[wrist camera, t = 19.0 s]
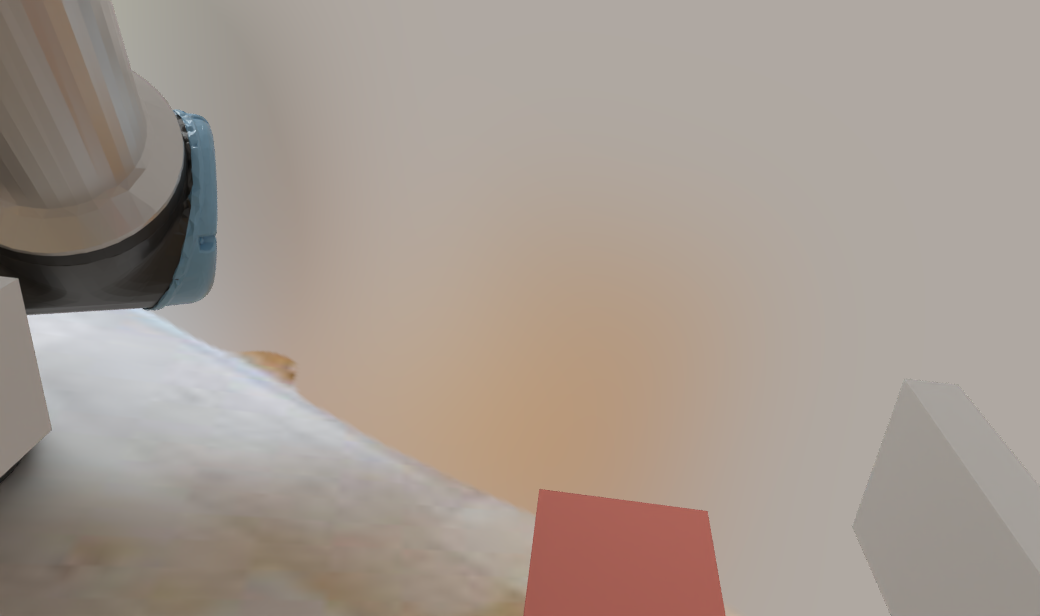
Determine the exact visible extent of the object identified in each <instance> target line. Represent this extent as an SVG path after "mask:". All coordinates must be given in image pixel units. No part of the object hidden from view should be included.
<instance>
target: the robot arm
mask: <svg viewBox="0 0 1040 616" xmlns="http://www.w3.org/2000/svg"><path fill="white" fill-rule="evenodd" d="M216 229H217V181H216V163H215V149H214V141H213V134H212V131H211V129H210V126H209V124H208V122H207V120H206V119H205V118H203V117H202V116H200V115H196V114H189V113H185V112H184V111H181V110H172V108H171V107H170V105H169V103H168V102H167V100H166V99H165V98H164V97H163V96H162V95H161V94H160V92H159V91H158V90H157V89H156V88H155V87H153V86H152V85H151V84H150V83H149V82H148V81H147V80H146V79H144V78H143V77H141V76H140V75H138V74H137V73H136V72H134V71H132V70H131V67H130V63H129V60H128V56H127V53H126V49H125V46H124V43H123V39H122V36H121V32H120V29H119V25H118V22H117V18H116V15H115V11H114V8H113V5H112V1H111V0H0V482H1V481H3V480H4V479H5V478H6V477H7V476H8V475H9V474H10V473H11V472H12V471H13V470H14V468H15V467H16V466H17V465H18V463H19V462H20V460H21V459H22V457H23V456H24V455H25V454H26V453H27V452H28V451H30V450H31V449H32V448H33V447H34V446H35V445H36V444H37V443H38V442H39V441H40V440H42V439H43V438H44V437H45V436H46V435H47V434H48V433H49V432H50V431H51V430H52V428H51V423H50V419H49V414H48V410H47V405H46V401H45V396H44V392H43V387H42V383H41V378H40V374H39V369H38V365H37V360H36V356H35V351H34V347H33V342H32V338H31V333H30V329H29V324H28V320H27V315H36V314H53V313H69V312H86V311H102V310H118V309H135V308H143V309H145V310H147V311H148V310H159V309H162V308H163V307H165V306H169V305H179V304H189V303H194V302H197V301H199V300H201V299H202V298H204V297H205V296H206V295H207V294H208V293H209V292H210V290H211V288H212V286H213V283H214V277H215V270H216V254H217V246H216V238H215V235H216V233H217V230H216ZM852 527H853V530H854V532H855V534H856V537H857V539H858V541H859V543H860V546H861V548H862V550H863V553H864V555H865V557H866V560H867V562H868V564H869V567H870V569H871V571H872V573H873V576H874V578H875V580H876V583H877V584H878V587H879V590H880V592H881V594H882V596H883V599H884V601H885V603H886V606H887V608H888V610H889V613H890V615H891V616H1040V486H1039V484H1038V483H1037V482H1036V480H1035V479H1034V478H1033V477H1032V476H1031V474H1030V473H1029V472H1028V471H1027V469H1026V468H1025V467H1024V466H1023V464H1022V463H1021V462H1020V461H1019V460H1018V458H1017V457H1016V456H1015V454H1014V453H1013V452H1012V451H1011V449H1010V448H1009V447H1008V446H1007V445H1006V443H1005V442H1004V441H1003V439H1002V438H1001V437H1000V436H999V434H998V433H997V432H996V431H995V429H994V428H993V427H992V426H991V425H990V423H989V422H988V421H987V420H986V418H985V417H984V416H983V415H982V413H981V412H980V411H979V410H978V409H977V407H976V406H975V405H974V403H973V402H972V401H971V400H970V398H969V397H968V396H967V395H966V394H965V392H964V391H963V390H962V388H961V387H960V386H959V385H955V384H947V383H938V382H929V381H921V380H912V379H904V381H903V384H902V387H901V389H900V392H899V395H898V398H897V401H896V404H895V406H894V409H893V412H892V415H891V418H890V421H889V424H888V426H887V429H886V432H885V435H884V438H883V441H882V443H881V446H880V449H879V452H878V455H877V458H876V461H875V463H874V466H873V469H872V472H871V475H870V478H869V480H868V483H867V486H866V489H865V492H864V494H863V497H862V500H861V503H860V506H859V509H858V511H857V514H856V518H855V520H854V523H853V526H852Z"/></svg>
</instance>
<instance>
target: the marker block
mask: <svg viewBox="0 0 1040 616" xmlns="http://www.w3.org/2000/svg"><path fill="white" fill-rule="evenodd" d="M524 616H725V610H724V604H723V598H722V593H721V587H720V581H719V575H718V569H717V564H716V558H715V552H714V546H713V540H712V535H711V529H710V523H709V517H708V512H707V511H703V510H695V509H687V508H680V507H672V506H665V505H657V504H649V503H642V502H634V501H626V500H619V499H611V498H604V497H596V496H587V495H581V494H573V493H565V492H558V491H550V490H543V489H540V490H539V497H538V505H537V512H536V520H535V528H534V536H533V544H532V552H531V560H530V568H529V576H528V584H527V592H526V600H525V608H524Z"/></svg>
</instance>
